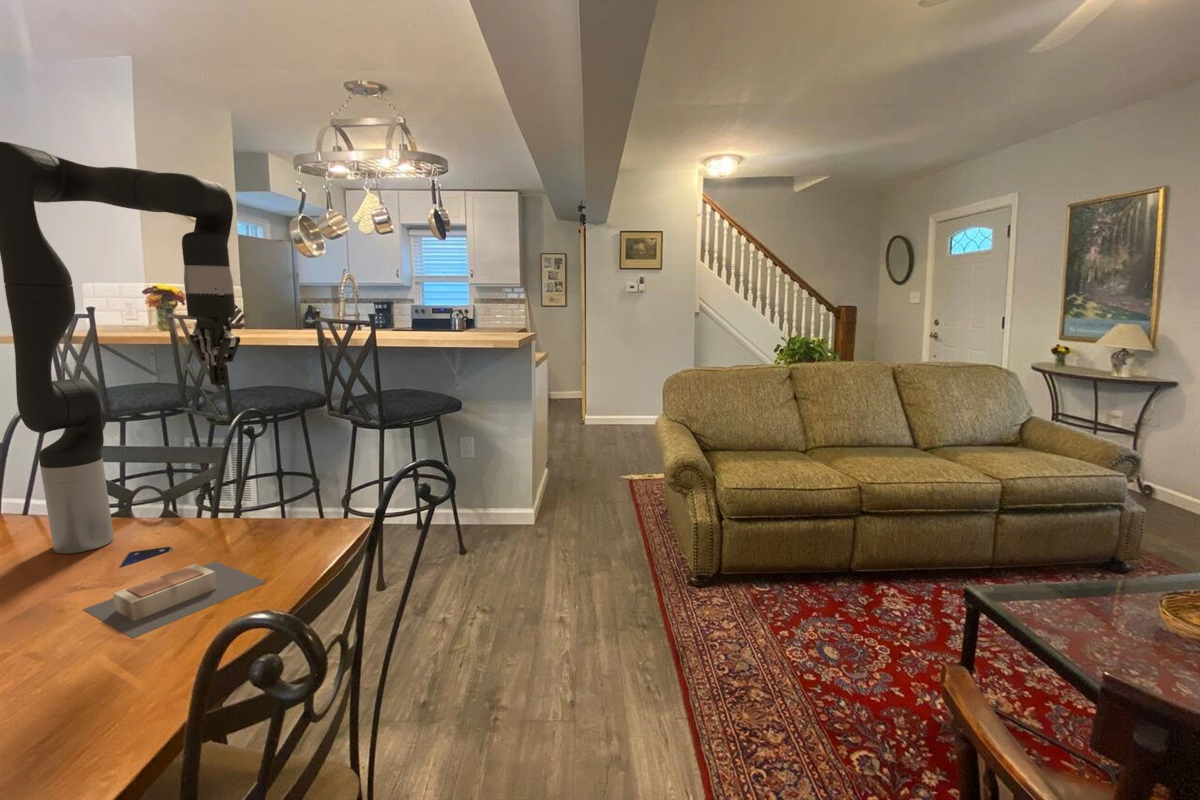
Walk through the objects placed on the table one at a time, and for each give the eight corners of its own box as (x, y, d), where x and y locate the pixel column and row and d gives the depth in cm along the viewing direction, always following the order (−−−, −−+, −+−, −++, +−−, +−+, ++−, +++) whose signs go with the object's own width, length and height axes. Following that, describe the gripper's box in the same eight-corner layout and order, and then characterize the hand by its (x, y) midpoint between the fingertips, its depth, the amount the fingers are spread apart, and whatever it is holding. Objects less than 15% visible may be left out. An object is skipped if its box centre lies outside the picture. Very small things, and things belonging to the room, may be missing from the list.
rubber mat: (83, 614, 94) (82, 609, 94) (215, 565, 111) (215, 561, 111) (133, 643, 86) (132, 638, 86) (267, 586, 103) (267, 581, 103)
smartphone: (174, 545, 119) (158, 577, 105) (174, 550, 119) (159, 582, 106) (127, 551, 115) (105, 585, 102) (128, 556, 115) (106, 590, 102)
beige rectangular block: (197, 579, 104) (115, 610, 93) (195, 562, 103) (112, 591, 93) (217, 588, 101) (134, 621, 91) (215, 570, 100) (132, 601, 90)
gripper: (168, 291, 110) (178, 384, 113) (208, 291, 103) (218, 390, 106) (211, 291, 116) (219, 379, 119) (251, 292, 110) (259, 385, 113)
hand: (219, 384), depth 113 cm, fingers closed
